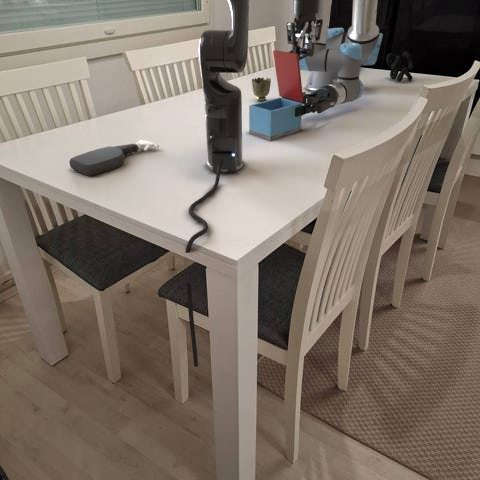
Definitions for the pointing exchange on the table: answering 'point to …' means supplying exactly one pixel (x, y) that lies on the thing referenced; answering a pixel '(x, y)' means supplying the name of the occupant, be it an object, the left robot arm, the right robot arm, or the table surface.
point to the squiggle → (399, 66)
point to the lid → (290, 72)
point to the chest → (274, 118)
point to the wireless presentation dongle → (106, 157)
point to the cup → (261, 88)
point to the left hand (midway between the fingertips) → (303, 57)
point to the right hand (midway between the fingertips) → (283, 108)
